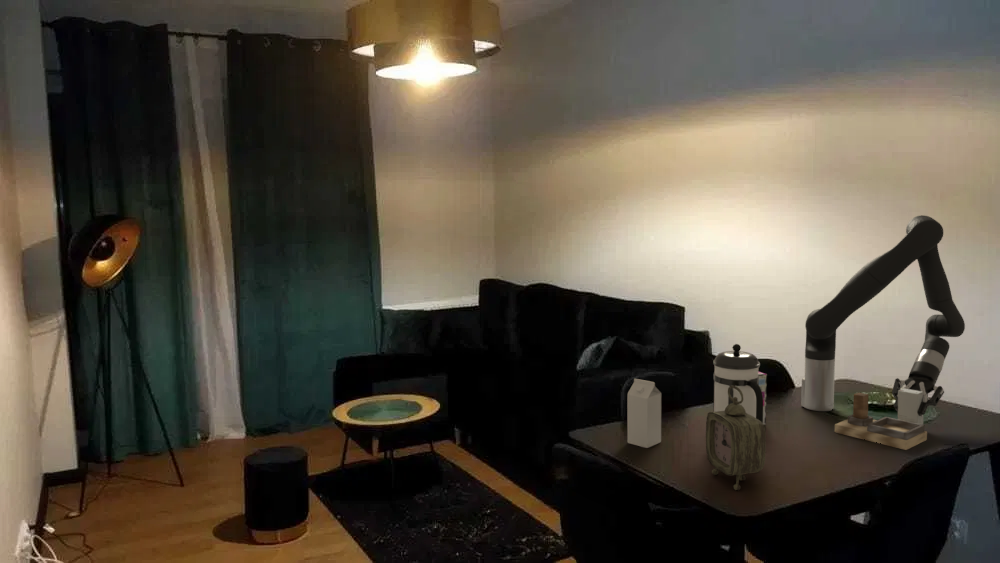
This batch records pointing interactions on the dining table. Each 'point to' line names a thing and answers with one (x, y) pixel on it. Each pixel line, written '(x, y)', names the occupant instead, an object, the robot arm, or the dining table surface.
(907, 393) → the skincare box
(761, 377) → the candy bar box
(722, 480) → the dining table surface
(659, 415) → the milk carton
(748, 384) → the coffee press
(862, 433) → the wooden board
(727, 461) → the tabletop clock
